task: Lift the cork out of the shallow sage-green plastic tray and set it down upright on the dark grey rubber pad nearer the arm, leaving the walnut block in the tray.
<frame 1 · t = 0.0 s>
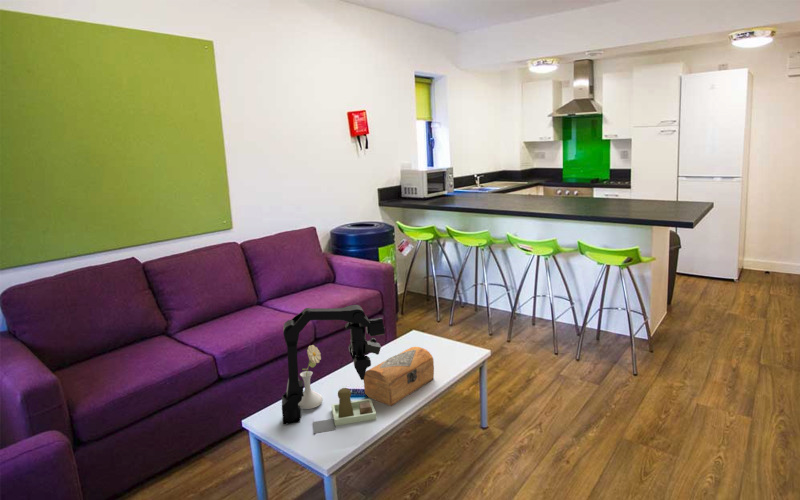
hand: (360, 374, 200), 15 cm above the table, fingers open, 9 cm apart
cork: (346, 415, 198), resting on tray
pad: (324, 426, 191), on the table
wooden box: (401, 388, 218), on the table
walnut block: (365, 414, 198), resting on tray
tray: (353, 414, 198), on the table
flower in vase: (310, 404, 208), on the table
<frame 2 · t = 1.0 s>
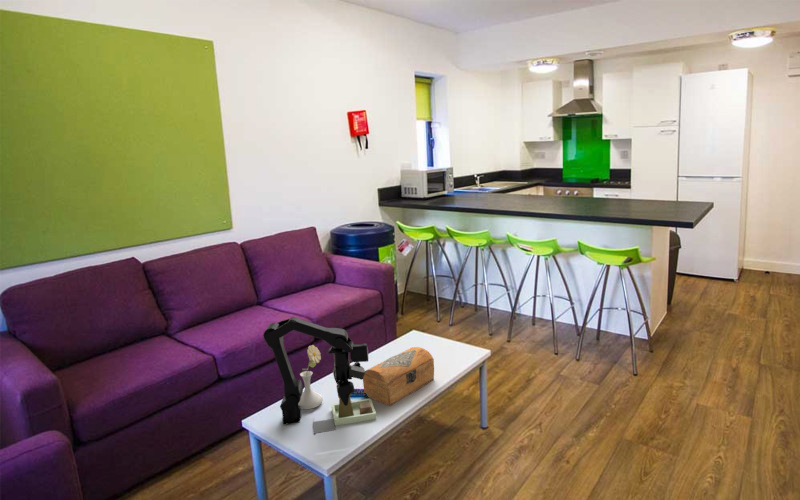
hand: (344, 399, 196), 7 cm above the table, fingers open, 9 cm apart
nothing on the table moved.
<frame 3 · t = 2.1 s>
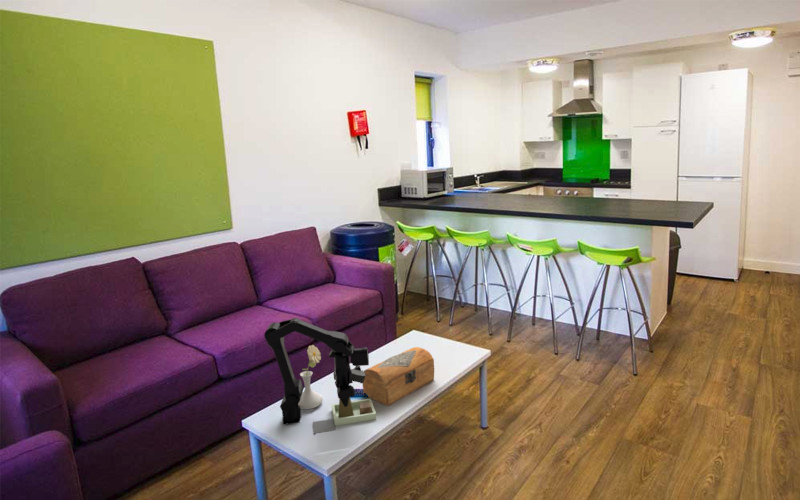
hand: (345, 403, 196), 6 cm above the table, fingers closed on cork, 5 cm apart
cork: (346, 415, 198), resting on tray, touching gripper
everything else where it was.
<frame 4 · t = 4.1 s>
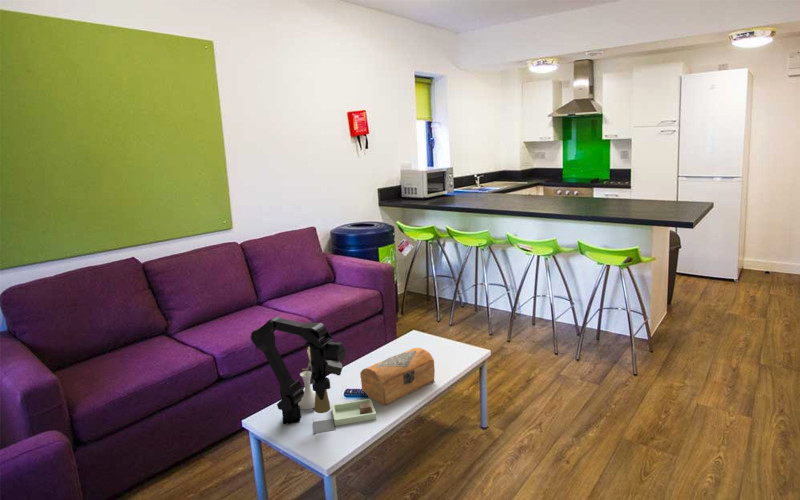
hand: (321, 396, 188), 13 cm above the table, fingers closed on cork, 5 cm apart
cork: (322, 409, 190), point 7 cm above the table, touching gripper
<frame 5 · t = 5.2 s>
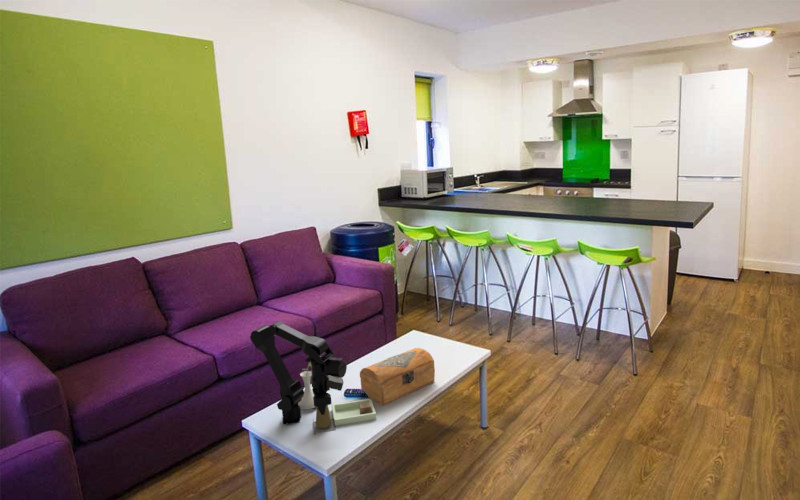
hand: (322, 411, 190), 6 cm above the table, fingers closed on cork, 5 cm apart
cork: (323, 424, 191), point 1 cm above the table, touching gripper
when the fingers open (6 cm above the table, at t = 5.9 s): cork stays where it is, resting on pad.
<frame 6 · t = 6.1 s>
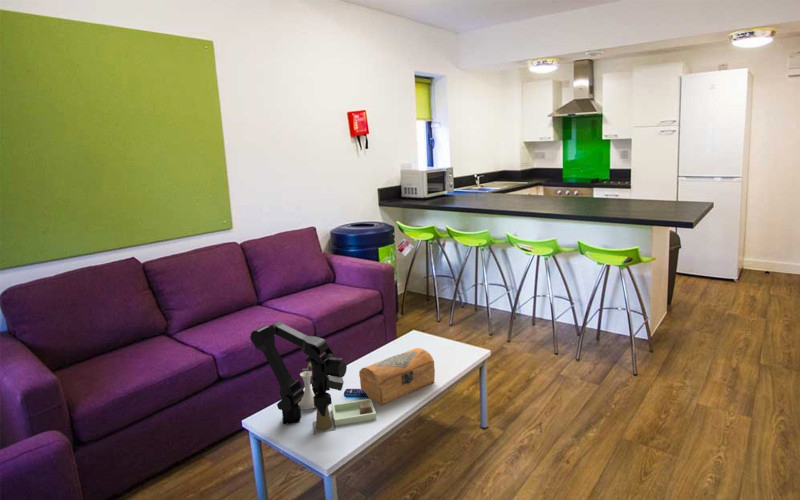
hand: (322, 411, 190), 6 cm above the table, fingers open, 7 cm apart
cork: (324, 426, 191), resting on pad
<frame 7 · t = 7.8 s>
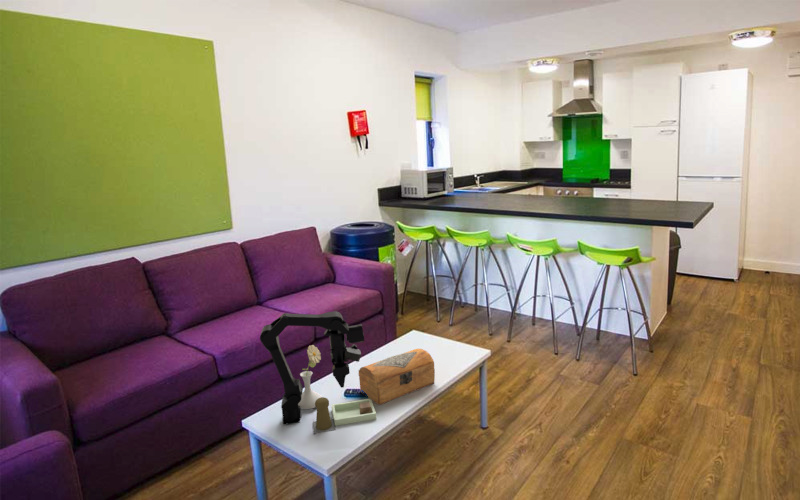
hand: (341, 381, 197), 13 cm above the table, fingers open, 9 cm apart
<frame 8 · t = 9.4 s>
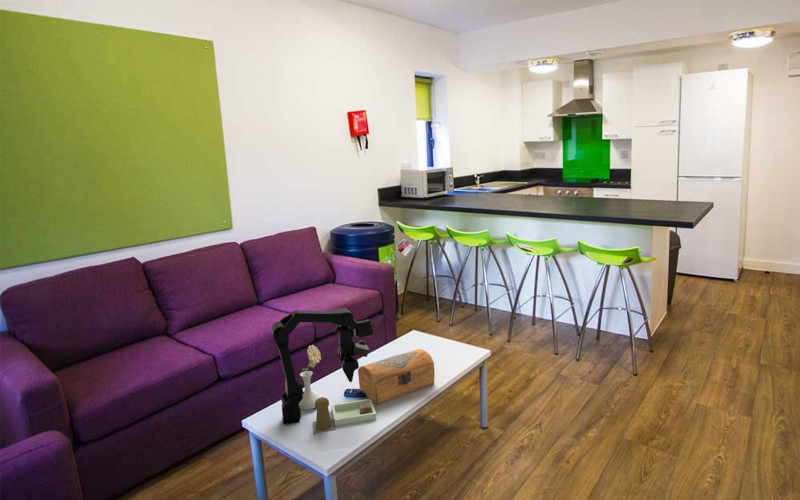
hand: (349, 376, 202), 13 cm above the table, fingers open, 9 cm apart
at the end: cork inside the target area on the pad (0.1 cm from its centre), point 0.2 cm above the pad's base; cork tilted 0°; the gripper is holding nothing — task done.
